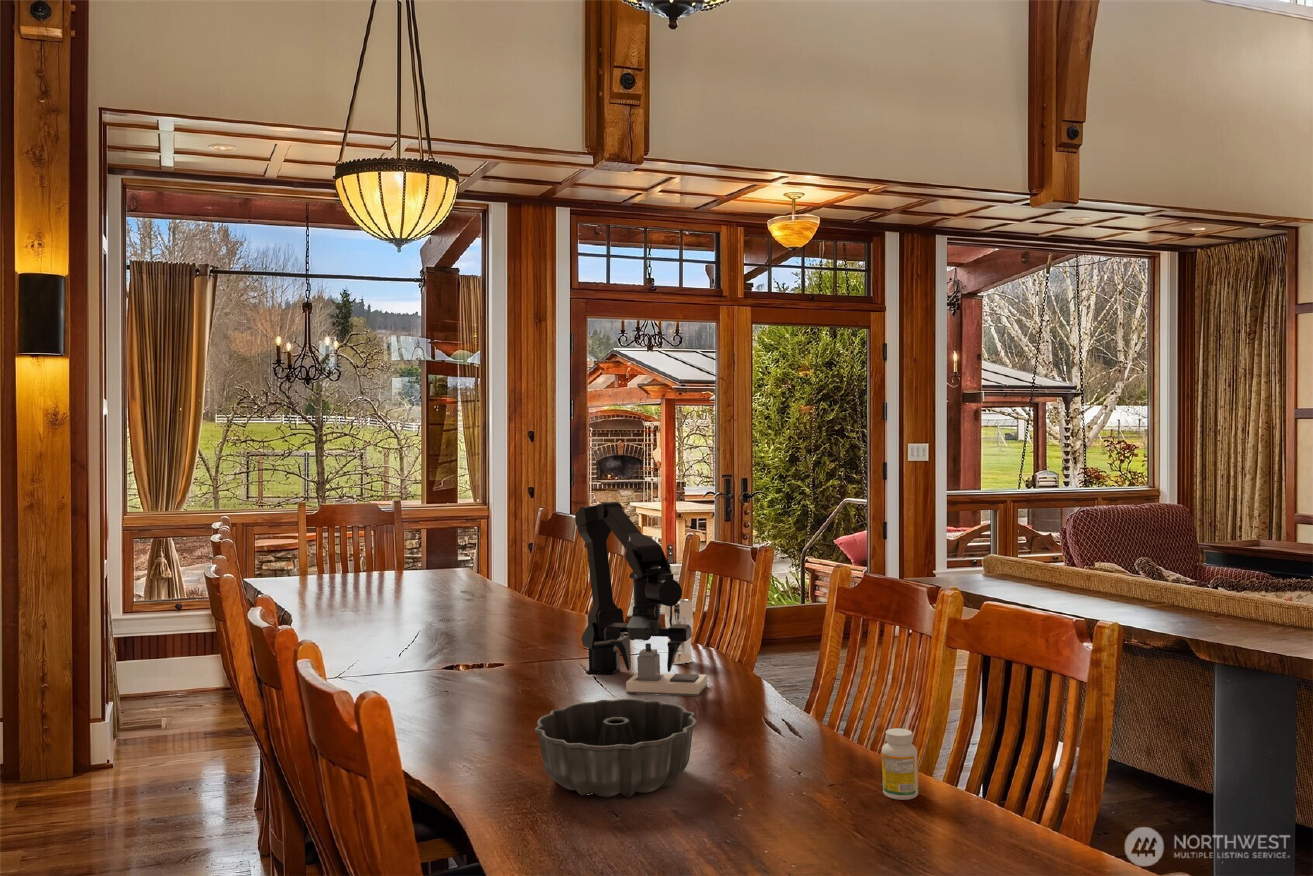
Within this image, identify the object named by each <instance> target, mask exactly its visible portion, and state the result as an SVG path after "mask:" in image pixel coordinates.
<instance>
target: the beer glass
mask: <svg viewBox="0 0 1313 876" xmlns="http://www.w3.org/2000/svg"><path fill="white" fill-rule="evenodd" d="M673 624H689V625H690V627H691V629H692V631H693V630H694V609H693V601H692V599H686V598H681V599H680V601H679V602H678V603H677V604H676V605H674V606H665V605H664V625H665V628H670V627H671V626H672V625H673ZM667 640H668V641H667V642H669V641H670V639H669V638H668V637H667ZM691 647H692V637H691V638H689V639H688V640H687V641H685V642H684V643H682V644H681V645H680V646H679V648H678V650H677V653H676V655H675V659H674V662H673V665H675V664H683V665H686V664H685V663H689V662H692V661H693V660H694V659H693V655H692V649H691ZM693 662H694V661H693ZM693 662H692V663H693ZM689 664H690V663H689Z"/></svg>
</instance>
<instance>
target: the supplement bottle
mask: <svg viewBox="0 0 1313 876" xmlns="http://www.w3.org/2000/svg"><path fill="white" fill-rule="evenodd" d="M885 740H886V743H884V745H883V746H882V747H881V771H882V772H881V773H882V775H881V777H882V792H883V794H884V796H885V797H888V798H890V799H893V800H899V801H900V800H901V801H907V800H912V799H915V798H916V797H917V796H918V795H919V763H918V761H919V759H918V748H917V747H916V746H915V745H914V744H913V741H914V737H913V731H912V730H909V729H907V728H906V729H905V728H900V727H899V728H895V727H894V728H890V729H887V730H886V731H885Z"/></svg>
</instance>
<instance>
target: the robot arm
mask: <svg viewBox="0 0 1313 876" xmlns="http://www.w3.org/2000/svg"><path fill="white" fill-rule="evenodd" d="M574 519H575V520H574V522H575V524H576V526H577V531H578V532H577V533H578V535H579V536H580V537H581V539H582V540H583V541H584V542H585V544H586V550H587V551H586V553H587V560H588V569H589V579H590V586H591V587H590V588H591V597H592V606H591V608H590V610H589V613H588V615H587V626H586V628H585V630H584V632H583V634H582V635H581V644H582V646H583V647H585V648H587V649H588V669H587V670H586V674H596V675H597V674H599V675H600V674H601V675H613V674H614V673H616V672H617V671H618V670H619V669H621V666H620V665H621V662H620V659H621V657H622V660H623V663H624V665H625V667H626V670H627V671H628V672H629V671H631V665H632V660H631V659H632V658H631V641H635V640H636V641H639V640H640V641H645V642H646V641H649V640H650V639H651V638H652V637H662V638H663V637H667V639H668V638H669V639H670V641H667V648H668V649H667V650H668V651H667V662H666V663H667V666H666V667H667V673H670V672H671V670H672V668H673V665H674V664H673V662H674V659H675V655H676V653H677V650H678V648H679V646H680V645H681V644H682V643H684V642H685V641H687V640H688V639H689V638H691V637H692V636H693V630H692V629H691V627H690V625H689V624H673V625H672V626H671V627H670V628H666V627H662V621H661V608H662V606H664V607H665V606H674V605H676V604H677V603H678V602H679V601H680V599H682V596H683V589H682V586H681V585H680V583H679V581H677V580H675V579H674V574H673V573H672V570H671V567H672V566H671V565H670V562H669V561H668V560H667V559H668V558H667V557H666V555H665V552H664V550H663V548H662V546H661V545H660V544H659V543H658V542H657V541H656V540H655V539H654V538H652V537H650V536H648V535H644V534H643V533H642V532H641V531H640V530H639V529H638V527H637V526H636V524H635V523H634V522H633V521H632V520H631V518H630V517H629V516H628V514H627V513H626V512H625V511H624V510H623V505H622V504H621V503H620V502H618V501H608V502H607V501H606V502H604V501H603V502H601V503H598V504H596V505H587V506H580V507H579V508H578V511H577V512H575V517H574ZM611 532H612V533H613V534H614V536H615V537H616V538H617V540H618V541H619V542H620V544H621V545H622V546H623V548H624V550H625V552H624V558H625V560H626V562H627V565H628V566H629V567H630V569H631V570H632V572H631V573H629V575H628V576H629V579H632V580H633V582H632V583H633V606H632V615H631V618H630V619H629V620H628V623H626V622H625V619H624V611H623V609H622V608H621V607H618V606H617V605H616V603H615V601H614V595H613V586H612V578H611V570H610V569H611V568H610V559H609V550H608V549H609V548H608V539H609V537H610V535H611ZM691 639H692V638H691ZM620 655H621V657H620Z"/></svg>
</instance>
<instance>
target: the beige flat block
mask: <svg viewBox="0 0 1313 876" xmlns="http://www.w3.org/2000/svg"><path fill="white" fill-rule="evenodd" d="M706 686H708V675H707V674H696V673H695V674H694V673H668V672H667V673H661V672H660V680H659V681H638V672H636V673H635V674H634V675H632V677H630V678H629V679H628V680H627V681H626V682H625V688H626V689H625V691H626V693H637V694H636V695H648V694H659V695H658V696H675V695H676V696H679V697H699V696H700V695H701V694H702V693H703V691H704V690H705V689H706V688H707V687H706ZM705 687H706V688H705ZM701 692H702V693H701ZM626 693H625V694H626ZM638 693H639V694H638ZM700 693H701V694H700Z"/></svg>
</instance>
